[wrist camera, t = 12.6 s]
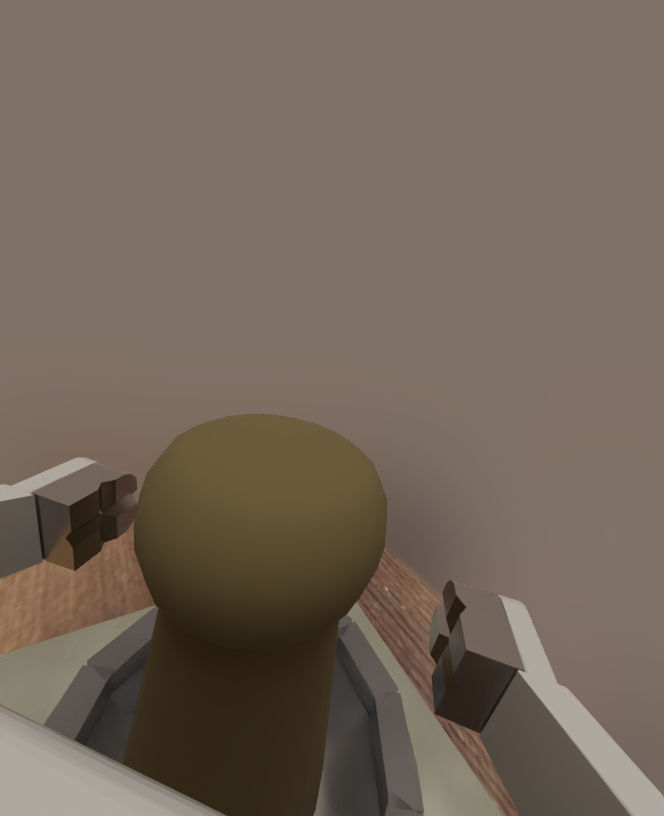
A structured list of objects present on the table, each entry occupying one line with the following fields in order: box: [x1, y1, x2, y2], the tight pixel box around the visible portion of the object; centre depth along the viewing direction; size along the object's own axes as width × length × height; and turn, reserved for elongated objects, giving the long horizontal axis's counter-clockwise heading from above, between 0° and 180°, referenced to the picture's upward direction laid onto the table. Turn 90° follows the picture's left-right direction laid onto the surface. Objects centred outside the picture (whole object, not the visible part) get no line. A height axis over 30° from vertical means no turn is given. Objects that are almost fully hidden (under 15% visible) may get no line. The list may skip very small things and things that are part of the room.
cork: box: [123, 414, 387, 816], centre depth 8 cm, size 6×6×11 cm
